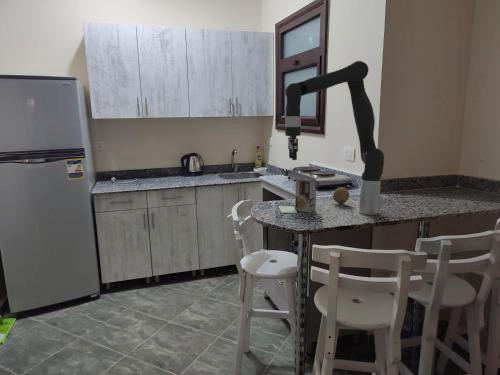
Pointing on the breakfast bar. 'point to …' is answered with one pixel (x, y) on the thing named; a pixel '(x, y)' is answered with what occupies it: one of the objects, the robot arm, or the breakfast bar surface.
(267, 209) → the breakfast bar surface
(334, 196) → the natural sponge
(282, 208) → the mat
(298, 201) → the coffee box
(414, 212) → the breakfast bar surface
